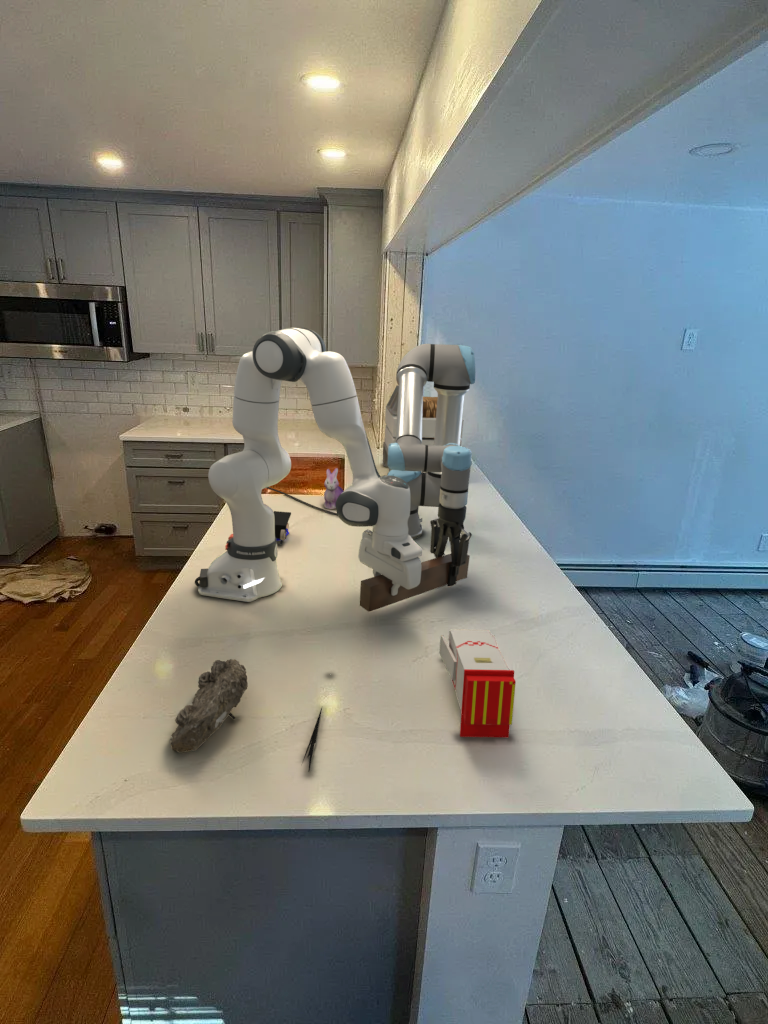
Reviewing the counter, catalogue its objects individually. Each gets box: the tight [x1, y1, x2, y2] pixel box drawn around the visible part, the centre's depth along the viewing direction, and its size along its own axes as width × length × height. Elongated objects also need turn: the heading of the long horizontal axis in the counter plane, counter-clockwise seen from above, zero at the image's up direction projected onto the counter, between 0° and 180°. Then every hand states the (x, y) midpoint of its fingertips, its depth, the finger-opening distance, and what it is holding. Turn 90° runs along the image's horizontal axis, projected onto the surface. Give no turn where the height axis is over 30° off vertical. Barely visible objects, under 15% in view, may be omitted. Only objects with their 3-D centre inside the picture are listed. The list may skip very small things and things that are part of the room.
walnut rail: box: [359, 553, 471, 613], centre depth 153 cm, size 36×4×7 cm, turn 130°
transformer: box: [381, 384, 464, 473], centre depth 268 cm, size 34×33×41 cm
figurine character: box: [273, 510, 292, 545], centre depth 190 cm, size 7×8×15 cm
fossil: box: [170, 658, 249, 753], centre depth 106 cm, size 22×10×15 cm
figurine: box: [323, 467, 345, 510], centre depth 222 cm, size 9×10×15 cm
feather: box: [301, 673, 332, 771], centre depth 108 cm, size 2×28×2 cm
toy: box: [438, 628, 517, 738], centre depth 117 cm, size 12×13×30 cm
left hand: (386, 589), depth 146 cm, fingers closed on walnut rail, 4 cm apart
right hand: (445, 581), depth 161 cm, fingers closed on walnut rail, 4 cm apart
